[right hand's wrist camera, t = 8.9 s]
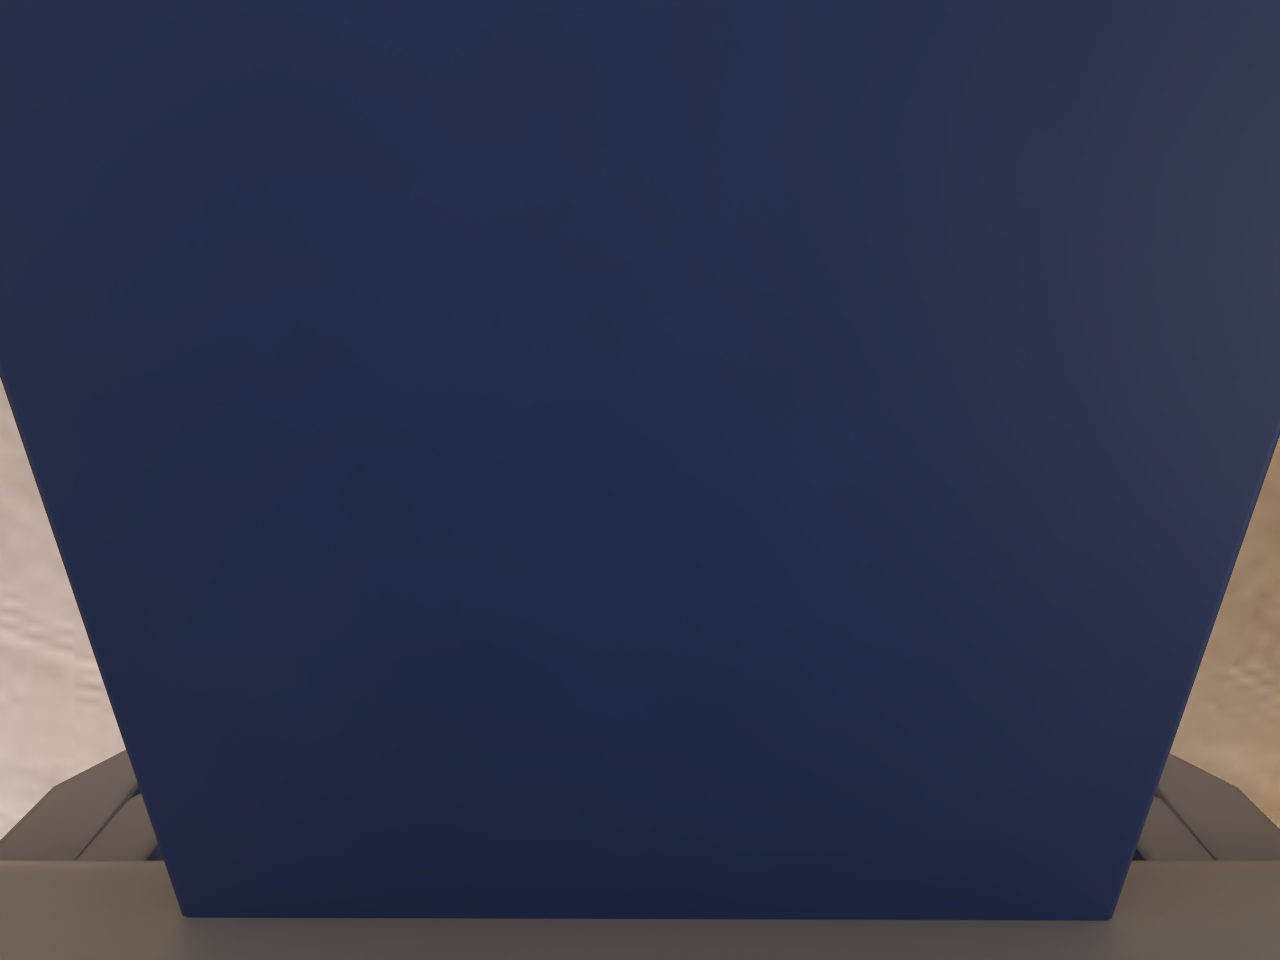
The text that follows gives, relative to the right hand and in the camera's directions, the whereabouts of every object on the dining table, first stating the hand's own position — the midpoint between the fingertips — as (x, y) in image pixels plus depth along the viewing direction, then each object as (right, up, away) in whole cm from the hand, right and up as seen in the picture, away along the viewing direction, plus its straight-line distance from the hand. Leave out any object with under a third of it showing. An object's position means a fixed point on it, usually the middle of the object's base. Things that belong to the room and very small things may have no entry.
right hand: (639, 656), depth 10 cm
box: (0, +11, +2) cm, 12 cm away
